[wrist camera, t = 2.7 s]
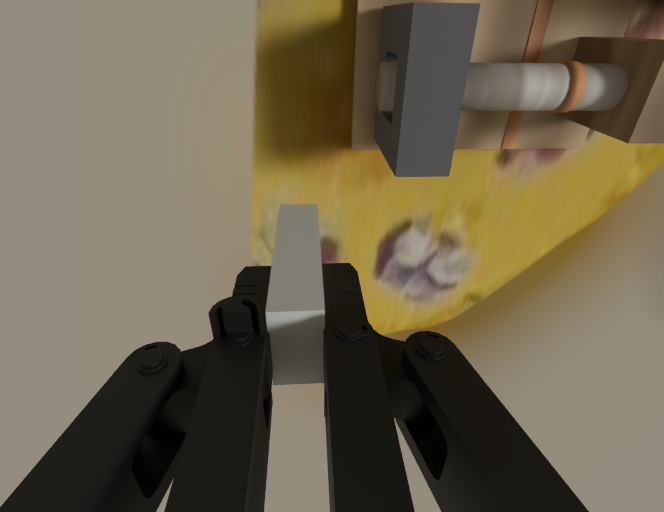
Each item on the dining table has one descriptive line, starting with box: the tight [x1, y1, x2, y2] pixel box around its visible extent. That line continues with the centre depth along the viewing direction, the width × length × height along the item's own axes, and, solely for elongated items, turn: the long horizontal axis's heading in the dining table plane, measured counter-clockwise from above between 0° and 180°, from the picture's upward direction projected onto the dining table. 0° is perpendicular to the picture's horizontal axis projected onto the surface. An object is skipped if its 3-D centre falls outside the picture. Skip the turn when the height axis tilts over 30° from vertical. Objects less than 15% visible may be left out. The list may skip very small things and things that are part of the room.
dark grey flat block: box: [374, 2, 481, 177], centre depth 22 cm, size 3×8×8 cm, turn 179°
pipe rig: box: [351, 0, 664, 149], centre depth 24 cm, size 18×10×8 cm, turn 89°
